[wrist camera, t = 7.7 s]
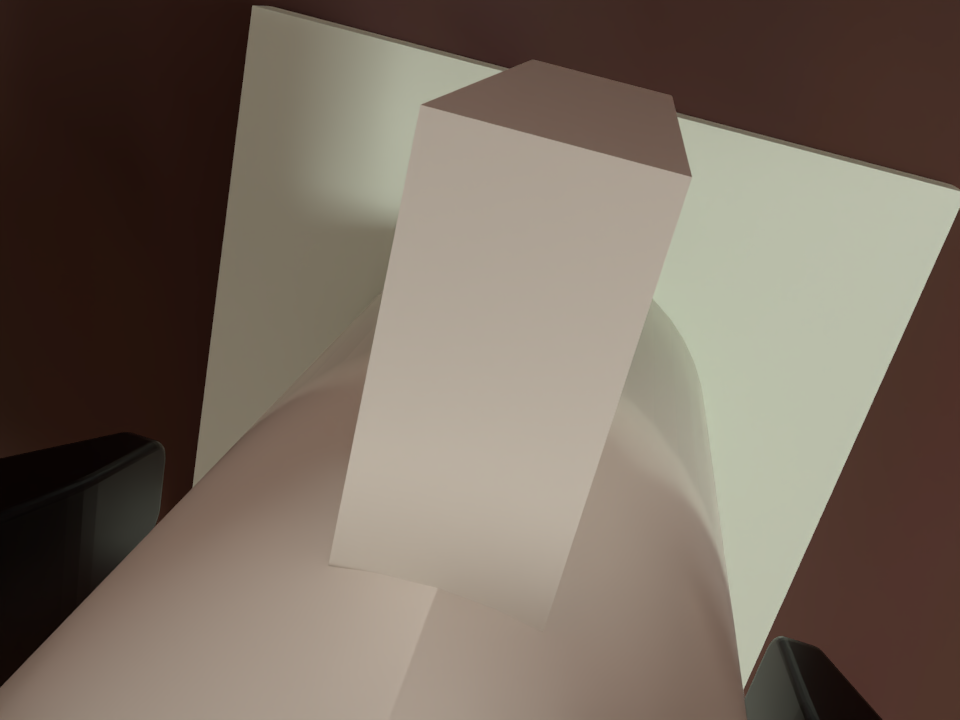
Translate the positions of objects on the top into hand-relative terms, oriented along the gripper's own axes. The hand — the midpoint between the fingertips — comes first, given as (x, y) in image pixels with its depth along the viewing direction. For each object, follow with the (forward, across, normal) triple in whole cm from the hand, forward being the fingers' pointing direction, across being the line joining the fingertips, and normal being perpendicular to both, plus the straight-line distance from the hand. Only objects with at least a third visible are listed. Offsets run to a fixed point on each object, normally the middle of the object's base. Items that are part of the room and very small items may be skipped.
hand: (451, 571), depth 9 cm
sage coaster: (+4, 0, 0) cm, 4 cm away
